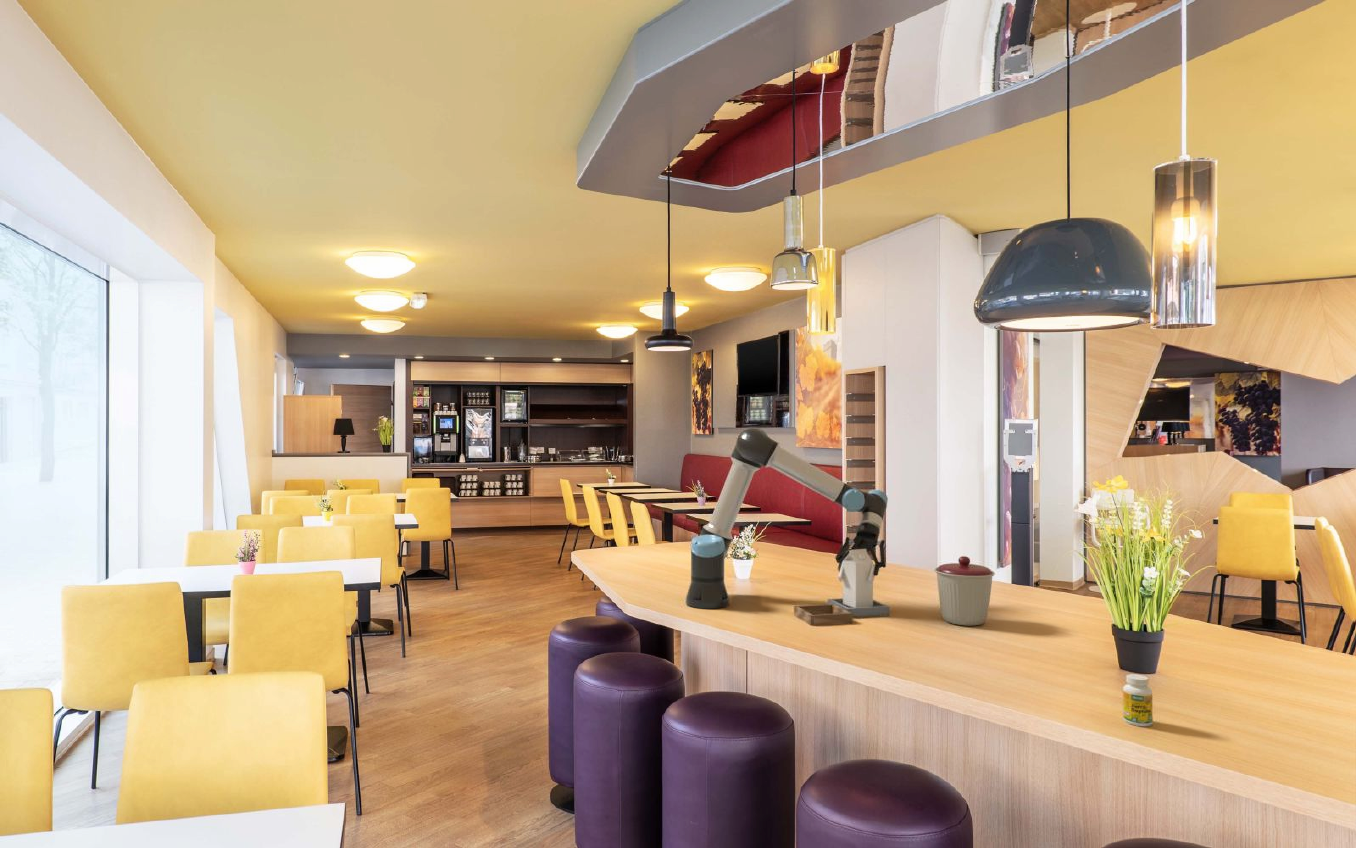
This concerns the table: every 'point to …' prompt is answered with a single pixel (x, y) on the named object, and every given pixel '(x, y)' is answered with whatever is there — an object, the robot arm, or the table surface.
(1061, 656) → the table surface
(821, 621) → the holder frame
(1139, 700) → the supplement bottle
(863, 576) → the milk carton
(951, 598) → the canister
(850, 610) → the tray
